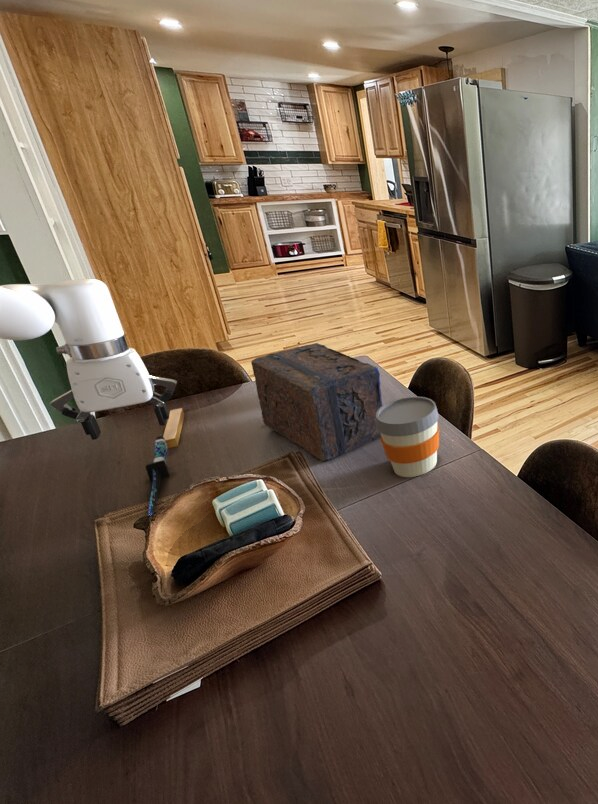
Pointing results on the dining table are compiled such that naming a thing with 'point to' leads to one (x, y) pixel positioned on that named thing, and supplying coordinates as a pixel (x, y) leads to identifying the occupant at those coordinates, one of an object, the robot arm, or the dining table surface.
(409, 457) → the reusable coffee cup
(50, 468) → the dining table surface
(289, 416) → the decorative box
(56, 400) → the robot arm
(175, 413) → the tan wooden bar
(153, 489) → the knife
